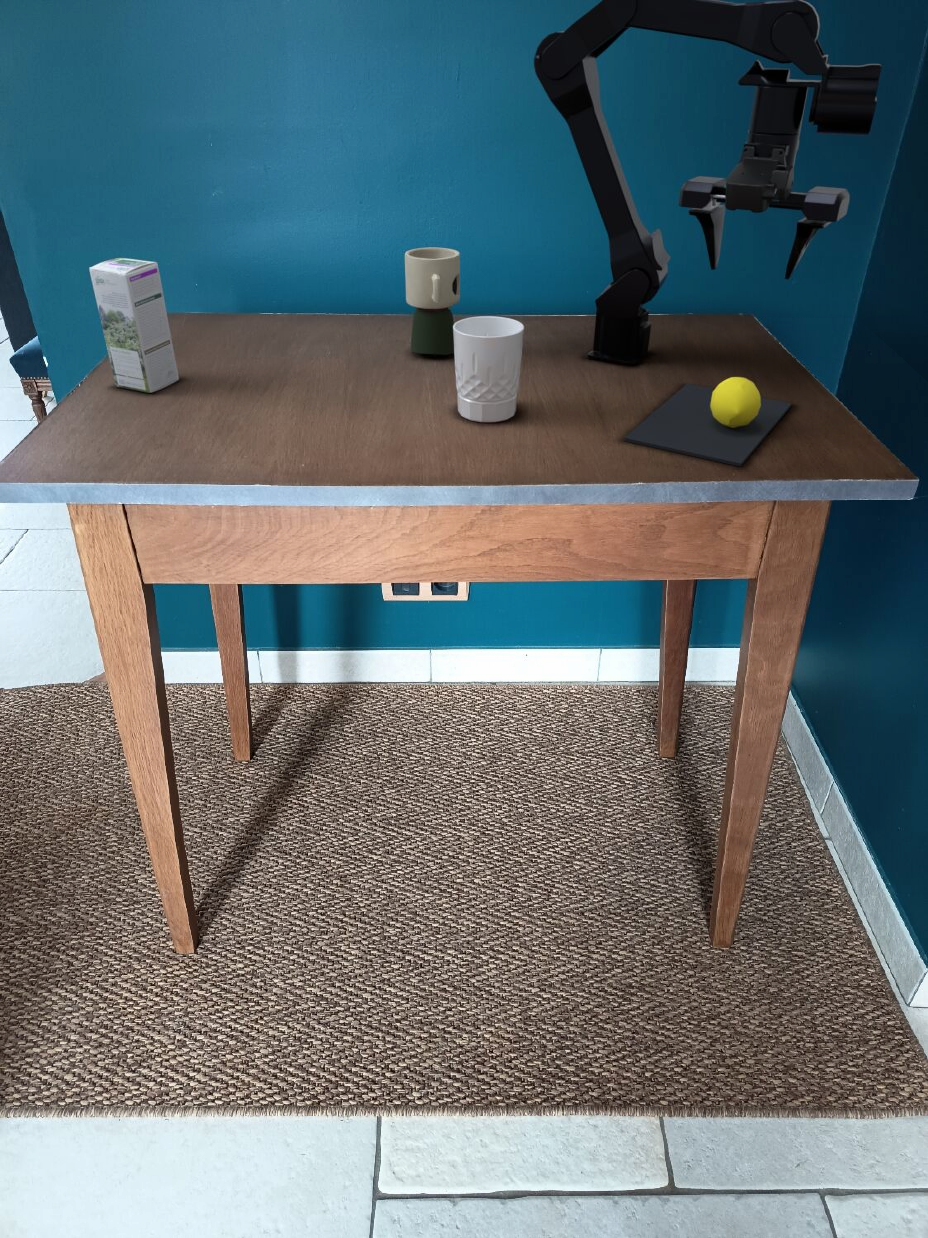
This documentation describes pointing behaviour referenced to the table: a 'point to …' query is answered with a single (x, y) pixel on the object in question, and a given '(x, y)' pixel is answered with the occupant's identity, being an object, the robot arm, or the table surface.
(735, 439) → the desk mat
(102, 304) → the syrup box
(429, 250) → the character mug
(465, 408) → the white cup
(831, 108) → the robot arm
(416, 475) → the table surface
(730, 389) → the lemon
